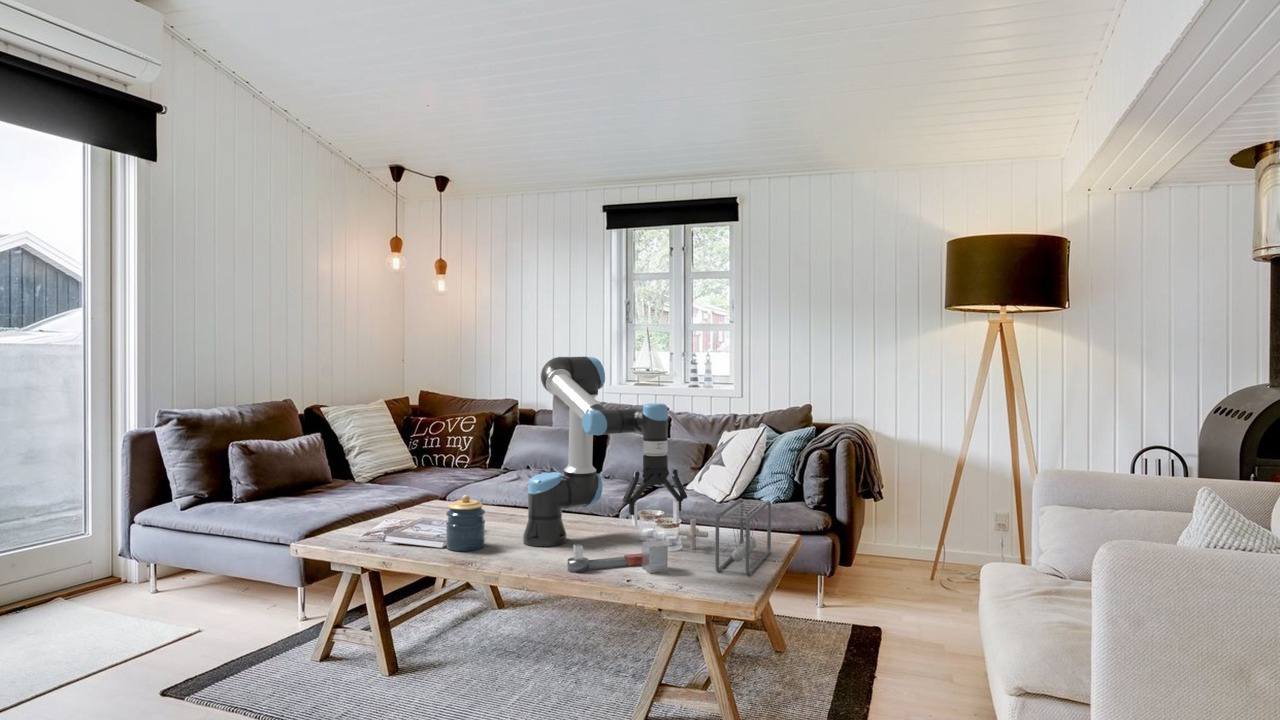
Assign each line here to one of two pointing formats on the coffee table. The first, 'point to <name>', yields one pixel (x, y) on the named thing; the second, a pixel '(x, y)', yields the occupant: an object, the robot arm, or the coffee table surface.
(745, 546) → the newton's cradle
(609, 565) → the ratchet
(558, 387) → the robot arm
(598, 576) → the coffee table surface
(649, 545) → the light grey block
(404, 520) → the coffee table surface
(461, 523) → the canister
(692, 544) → the beige peg jack
